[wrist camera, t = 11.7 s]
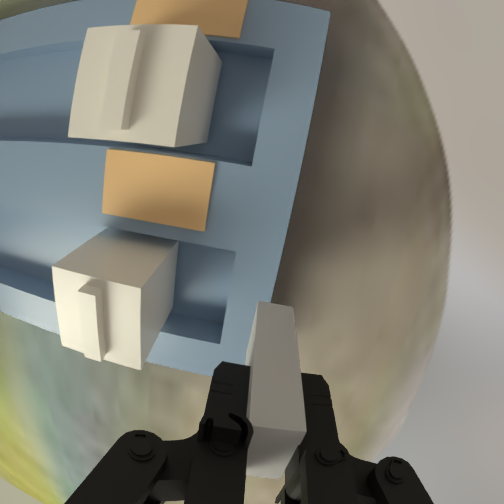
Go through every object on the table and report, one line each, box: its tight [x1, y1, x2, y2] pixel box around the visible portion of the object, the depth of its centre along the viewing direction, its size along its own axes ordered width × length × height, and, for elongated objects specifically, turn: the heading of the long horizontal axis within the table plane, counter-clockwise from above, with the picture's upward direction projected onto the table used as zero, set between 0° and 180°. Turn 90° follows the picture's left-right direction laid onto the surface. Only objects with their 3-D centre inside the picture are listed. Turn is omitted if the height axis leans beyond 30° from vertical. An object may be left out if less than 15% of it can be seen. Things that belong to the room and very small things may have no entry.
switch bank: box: [0, 0, 331, 376], centre depth 15 cm, size 26×20×3 cm
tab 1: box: [68, 24, 222, 147], centre depth 11 cm, size 4×4×6 cm
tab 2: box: [52, 227, 179, 370], centre depth 14 cm, size 4×4×6 cm
